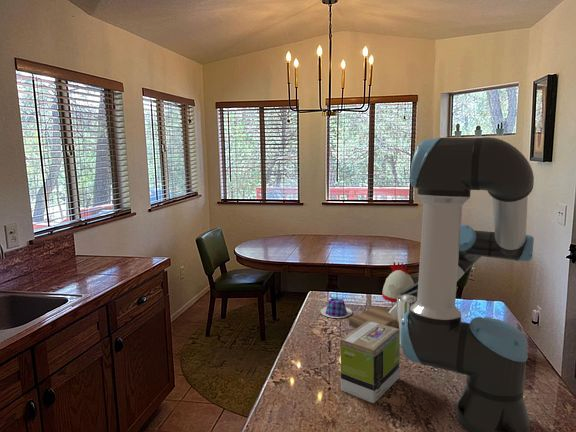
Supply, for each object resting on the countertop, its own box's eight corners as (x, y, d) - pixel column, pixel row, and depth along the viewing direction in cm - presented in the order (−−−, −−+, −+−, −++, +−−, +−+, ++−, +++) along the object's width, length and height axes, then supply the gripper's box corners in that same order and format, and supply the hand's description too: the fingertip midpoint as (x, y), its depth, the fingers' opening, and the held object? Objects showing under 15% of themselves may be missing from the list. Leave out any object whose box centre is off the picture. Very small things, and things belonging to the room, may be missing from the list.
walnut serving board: (376, 336, 141) (376, 328, 140) (348, 325, 150) (349, 317, 149) (404, 323, 151) (404, 315, 150) (377, 313, 160) (377, 305, 159)
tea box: (367, 367, 121) (368, 318, 119) (400, 379, 115) (402, 328, 113) (339, 390, 110) (339, 337, 107) (373, 405, 104) (375, 349, 101)
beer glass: (413, 337, 140) (415, 294, 137) (420, 347, 133) (422, 301, 130) (392, 337, 140) (393, 294, 137) (398, 347, 133) (400, 302, 130)
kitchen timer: (388, 289, 186) (389, 256, 184) (419, 294, 179) (421, 260, 177) (377, 299, 174) (378, 264, 172) (411, 305, 167) (412, 269, 165)
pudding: (354, 309, 165) (354, 296, 164) (348, 321, 154) (348, 307, 153) (324, 305, 169) (324, 293, 168) (316, 317, 158) (316, 304, 157)
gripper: (476, 296, 124) (426, 348, 124) (433, 271, 148) (391, 315, 148) (461, 279, 122) (410, 333, 122) (419, 257, 146) (377, 302, 146)
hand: (400, 323), depth 135 cm, fingers open, 13 cm apart
